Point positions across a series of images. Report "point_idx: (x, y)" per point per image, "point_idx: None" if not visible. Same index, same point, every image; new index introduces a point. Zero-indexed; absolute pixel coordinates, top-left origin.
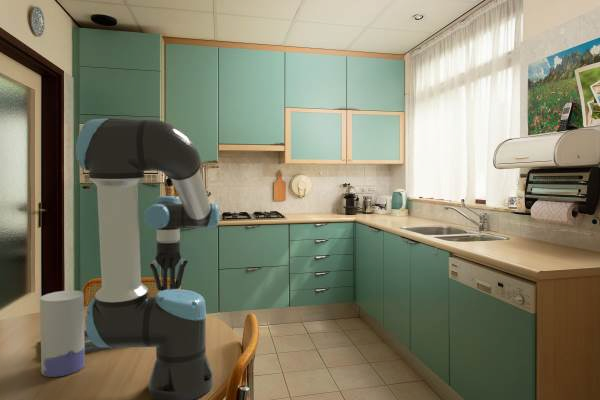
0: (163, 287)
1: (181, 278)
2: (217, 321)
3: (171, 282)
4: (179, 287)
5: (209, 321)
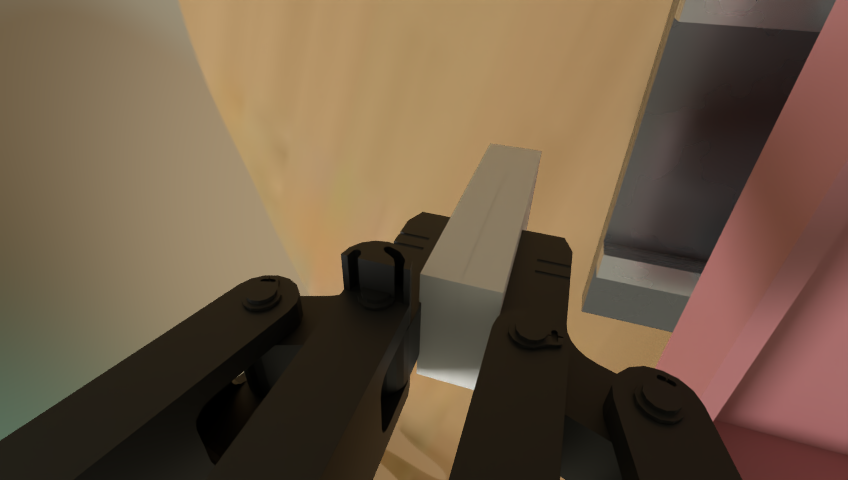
0: (563, 401)
1: (68, 408)
2: (190, 14)
3: (346, 424)
4: (260, 278)
5: (241, 52)
